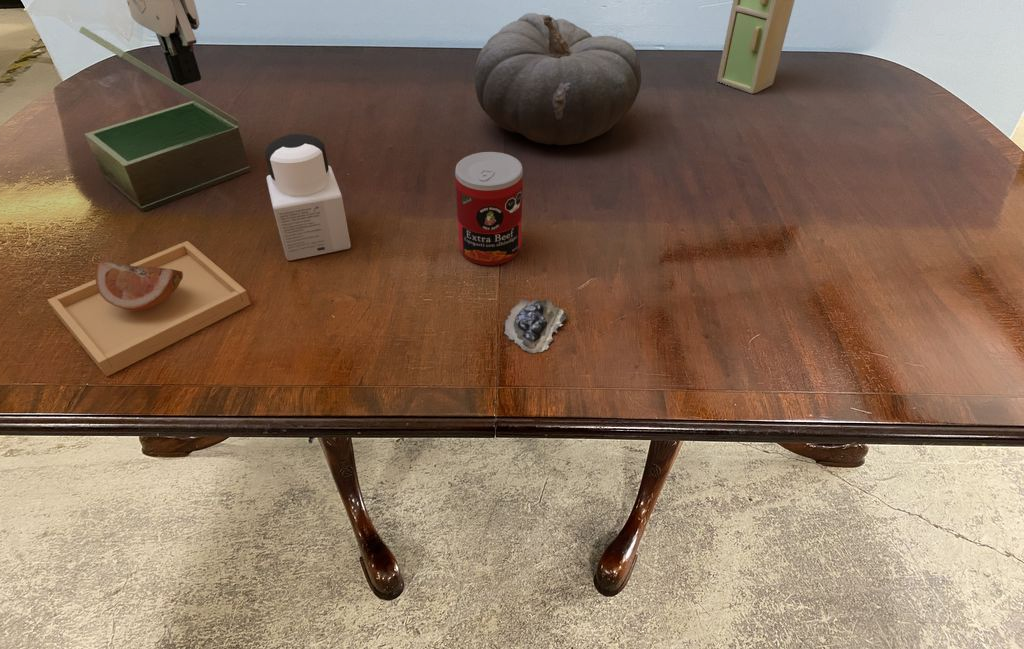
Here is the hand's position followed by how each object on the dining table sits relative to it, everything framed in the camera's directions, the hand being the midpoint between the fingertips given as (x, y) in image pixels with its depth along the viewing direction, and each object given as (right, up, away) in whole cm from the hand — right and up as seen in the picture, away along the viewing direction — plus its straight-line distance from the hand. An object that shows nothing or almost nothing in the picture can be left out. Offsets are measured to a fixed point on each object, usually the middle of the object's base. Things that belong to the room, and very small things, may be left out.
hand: (187, 81), depth 90 cm
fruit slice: (+4, -31, -17) cm, 36 cm away
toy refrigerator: (+86, +11, +32) cm, 92 cm away
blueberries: (+46, -33, -19) cm, 60 cm away
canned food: (+41, -24, -8) cm, 48 cm away
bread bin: (-4, -12, +5) cm, 13 cm away
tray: (+5, -31, -17) cm, 36 cm away
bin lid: (-2, -1, -2) cm, 4 cm away
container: (+19, -22, -7) cm, 30 cm away
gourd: (+51, -1, +19) cm, 54 cm away
